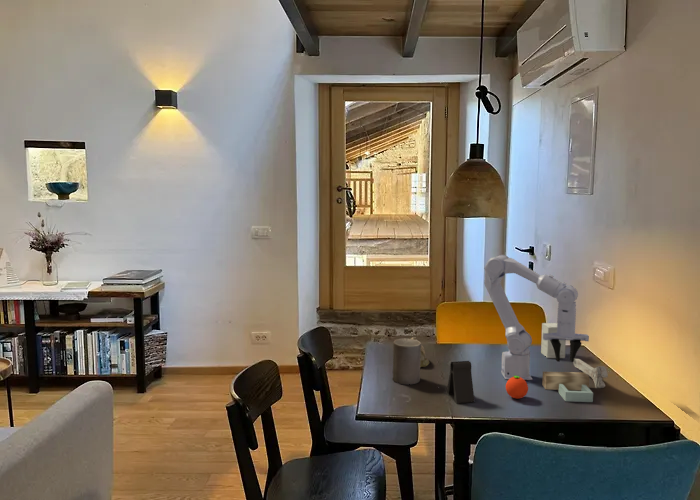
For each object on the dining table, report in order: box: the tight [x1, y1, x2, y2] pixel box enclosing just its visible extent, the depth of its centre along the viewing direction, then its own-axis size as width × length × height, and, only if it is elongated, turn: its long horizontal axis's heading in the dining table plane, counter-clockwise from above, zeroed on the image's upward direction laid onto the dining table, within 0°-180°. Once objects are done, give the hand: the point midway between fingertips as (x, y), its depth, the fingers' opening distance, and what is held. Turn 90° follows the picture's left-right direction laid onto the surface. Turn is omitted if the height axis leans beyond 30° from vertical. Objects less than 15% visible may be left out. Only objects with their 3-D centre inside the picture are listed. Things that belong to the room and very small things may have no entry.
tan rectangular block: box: [541, 371, 590, 391], centre depth 182 cm, size 14×4×5 cm, turn 86°
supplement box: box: [540, 322, 567, 359], centre depth 217 cm, size 7×7×13 cm
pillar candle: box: [392, 337, 422, 386], centre depth 189 cm, size 10×10×15 cm
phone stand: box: [446, 360, 476, 405], centre depth 173 cm, size 9×6×12 cm, turn 10°
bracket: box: [558, 384, 594, 403], centre depth 174 cm, size 8×7×3 cm
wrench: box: [573, 358, 609, 389], centre depth 191 cm, size 8×2×30 cm
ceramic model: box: [410, 336, 430, 368], centre depth 209 cm, size 14×11×10 cm
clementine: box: [505, 376, 529, 400], centre depth 174 cm, size 8×7×7 cm
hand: (564, 360), depth 184 cm, fingers open, 4 cm apart
